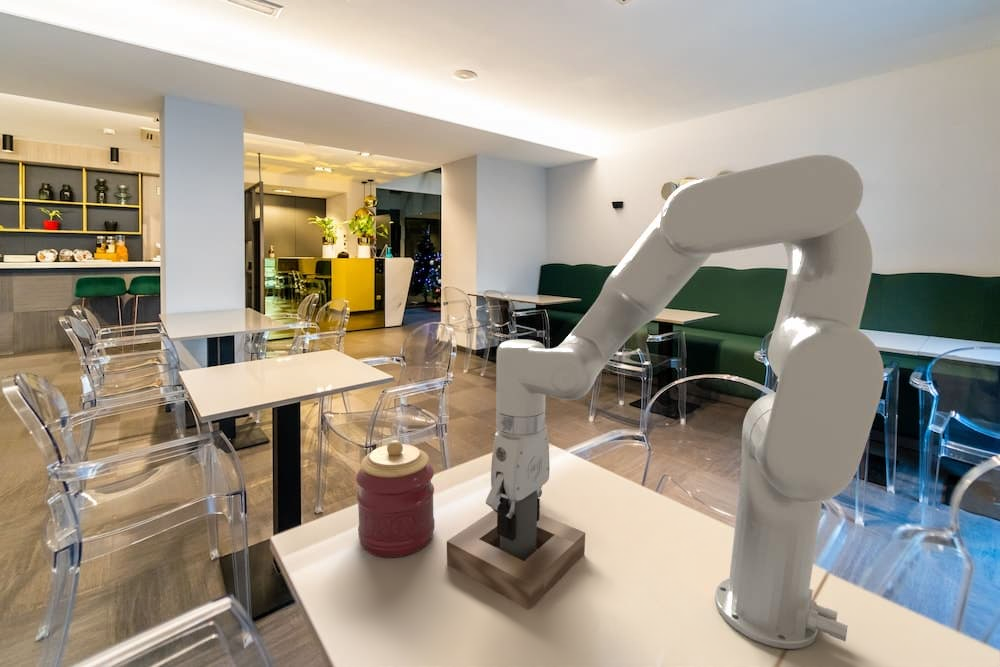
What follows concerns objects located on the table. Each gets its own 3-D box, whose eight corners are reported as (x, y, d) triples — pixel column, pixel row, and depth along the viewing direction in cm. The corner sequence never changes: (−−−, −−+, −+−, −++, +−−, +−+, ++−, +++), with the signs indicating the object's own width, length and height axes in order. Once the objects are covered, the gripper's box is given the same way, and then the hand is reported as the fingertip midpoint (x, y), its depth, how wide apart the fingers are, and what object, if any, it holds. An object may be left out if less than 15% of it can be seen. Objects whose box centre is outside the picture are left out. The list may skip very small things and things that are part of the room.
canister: (352, 526, 88) (347, 433, 85) (421, 509, 94) (419, 422, 91) (367, 568, 77) (363, 463, 74) (445, 546, 83) (444, 448, 80)
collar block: (584, 554, 81) (585, 532, 80) (529, 610, 69) (530, 584, 68) (507, 520, 91) (507, 500, 90) (446, 563, 78) (446, 541, 78)
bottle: (536, 542, 82) (538, 458, 79) (535, 564, 76) (537, 474, 74) (501, 539, 83) (502, 456, 80) (498, 562, 77) (498, 472, 74)
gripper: (505, 444, 66) (504, 563, 70) (570, 411, 80) (566, 512, 83) (464, 430, 71) (465, 543, 74) (531, 401, 84) (529, 498, 88)
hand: (518, 526), depth 79 cm, fingers closed on bottle, 5 cm apart
